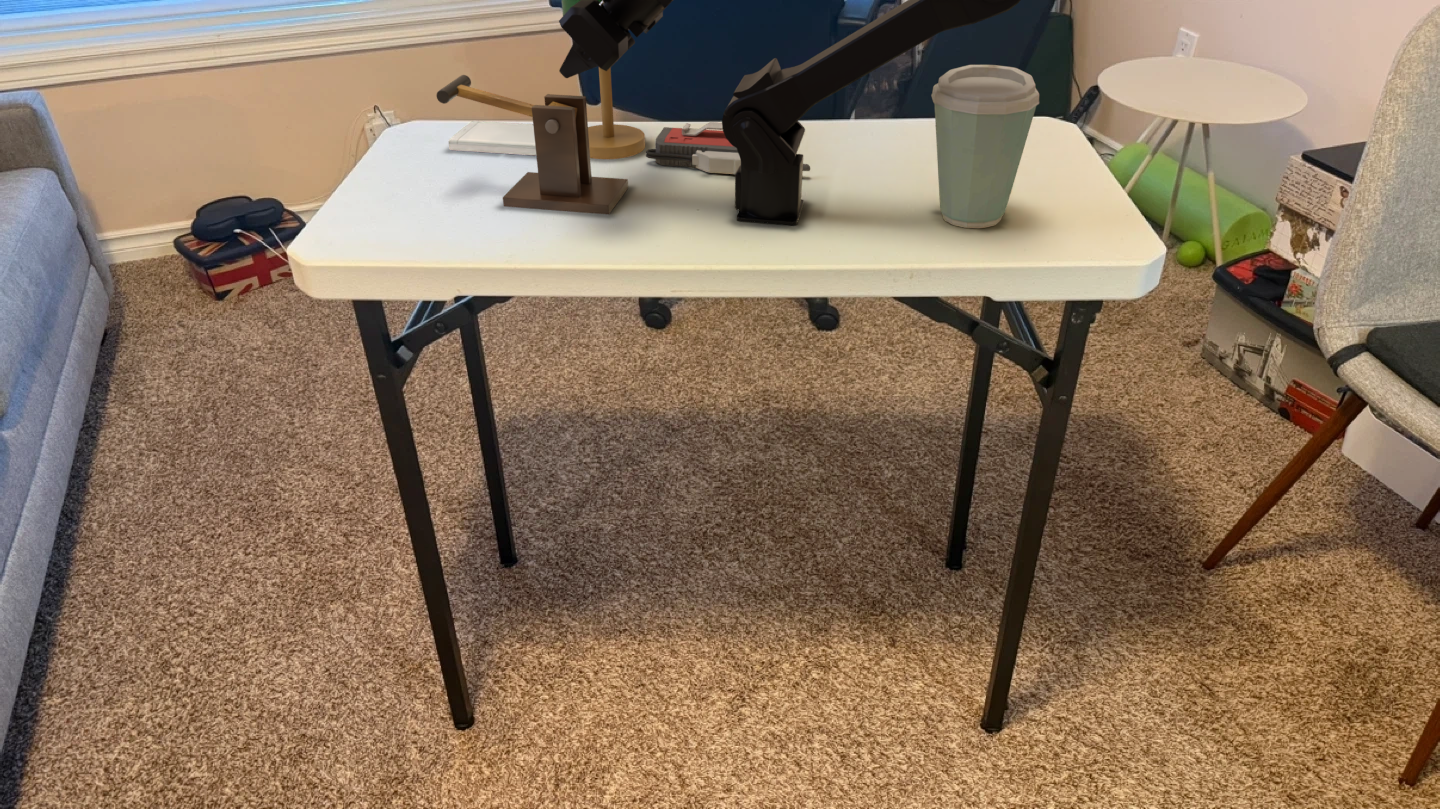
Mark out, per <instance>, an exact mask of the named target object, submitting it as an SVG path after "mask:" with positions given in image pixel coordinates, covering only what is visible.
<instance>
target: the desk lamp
mask: <svg viewBox="0 0 1440 809" xmlns="http://www.w3.org/2000/svg"><path fill="white" fill-rule="evenodd" d="M579 1H581V0H561V9H562V11H561V12H562V17H563V16H564V15H565V13H566V12H567V11H568V10H569V9H570V8H571V7H572V6H573V5H575V4H576V3H578V2H579ZM598 1H599V2H600V3H601V2H602V0H598ZM611 69H612V67H611V68H609V69H608V70H607V71H605V70H603V69H601V68H600V67H599V66H598V76H599V77H598V78H599V79H598V80H599V92H600V94H599V95H600V107H601V108H600V110H601V124H598V125H591V126H588V135H589V149H590V159H595V160H618V159H625V158H629V157H634V156H636V155H638V154H640V153H642V152H643V151H644V150H645V148H646V135H645V132H644V131H643V130H642V129H640V128H638V127H635V126H631V125H628V124H627V125H626V124H616V123H614V105H613V89H612V88H613V87H612V73H611V72H612V70H611Z"/></svg>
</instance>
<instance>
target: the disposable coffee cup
mask: <svg viewBox="0 0 1440 809" xmlns="http://www.w3.org/2000/svg"><path fill="white" fill-rule="evenodd" d="M930 96H931V99H932V102H933V104H934V120H935V121H934V123H935V138H936V139H935V140H936V142H935V143H936V156H937V157H936V158H937V159H936V161H937V177H938V179H937V181H938V196H939V199H938V200H939V208H940V214H941V215H942V219H943V221H945V222H947V223H948V224H951V225H953V226H957V227H960V228H965V229H984V228H990V227H993V226H996V225H997V224H998V223H1000V221H1002V218H1003V216H1004V215H1005V214H1006V212H1007V207H1008V204H1009V200H1010V198H1011V197H1010V196H1011V194H1012V190H1013V187H1014V183H1015V180H1016V177H1017V174H1018V170H1019V166H1020V163H1021V161H1022V160H1021V159H1022V157H1023V153H1024V149H1025V146H1026V143H1027V139H1028V136H1029V132H1030V129H1031V125H1032V122H1033V119H1034V116H1035V112H1036V109H1037V106H1038V105H1040V93H1039V90H1038V89H1037V88H1036V83H1035V81H1034V78H1033V76H1032V75H1031V74H1029V73H1027V72H1025V71H1023V70H1021V69H1019V68H1017V67H1013V66H1006V65H999V64H998V65H996V64H967V65H963V66H960V67H956V68H952V69H949V70H947V71H946V72H945V73H944V74H942V75H941V76H940V77H939V78H938V83H935V84H934V85H933V86H932V93H931V95H930Z"/></svg>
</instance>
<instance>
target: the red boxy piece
mask: <svg viewBox="0 0 1440 809" xmlns="http://www.w3.org/2000/svg"><path fill="white" fill-rule="evenodd" d="M654 144H655V148H649V149H647V150H645V157H646V158H647V159H652V160H655V163H657V164H658V165H660V166H668V167H670V166H673V167H684V168H695V169H698V170H700V171H703V172H706V173H709V174H710V173H711V174H725V175H729V174H730V175H734V176H735V174H736V172H737V170H738V168H739V166H740V165H741V159H740V156H739V154H738V151H737V148H736V147H734V146H733V145H731V143H730V142H729V141H728V140H727V139H726V137H725V134H724V132H723V128H722V122H718V121H709V122H708V123H706V124H704V125H703V126H701V127H699V128H693V127H692V128H691V123H688V122H686V123H685V124H684V125H683V127H666V126H665V127H663V128H662V129H661V130H660V132H659V133H658V135H657V136H656V138H655V141H654ZM810 171H811V166H810V165H809V164H808V163H803V172H810Z"/></svg>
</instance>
